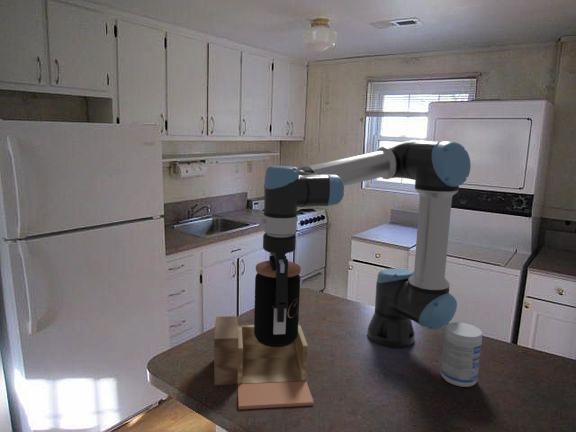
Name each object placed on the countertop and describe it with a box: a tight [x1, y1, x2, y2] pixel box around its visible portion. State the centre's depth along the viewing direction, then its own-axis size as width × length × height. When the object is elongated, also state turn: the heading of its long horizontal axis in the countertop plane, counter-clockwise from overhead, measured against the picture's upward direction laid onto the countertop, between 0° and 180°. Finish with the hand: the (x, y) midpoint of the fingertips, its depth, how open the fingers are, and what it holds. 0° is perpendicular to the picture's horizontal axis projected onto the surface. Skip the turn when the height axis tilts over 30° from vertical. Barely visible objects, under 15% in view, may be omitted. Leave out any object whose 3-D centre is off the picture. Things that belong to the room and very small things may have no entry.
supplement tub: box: [440, 321, 483, 388], centre depth 117 cm, size 10×10×15 cm
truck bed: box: [213, 315, 309, 386], centre depth 116 cm, size 24×13×14 cm, turn 98°
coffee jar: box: [253, 259, 302, 347], centre depth 101 cm, size 11×11×18 cm
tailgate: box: [237, 380, 315, 410], centre depth 106 cm, size 18×1×10 cm
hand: (276, 322), depth 102 cm, fingers closed on coffee jar, 11 cm apart
